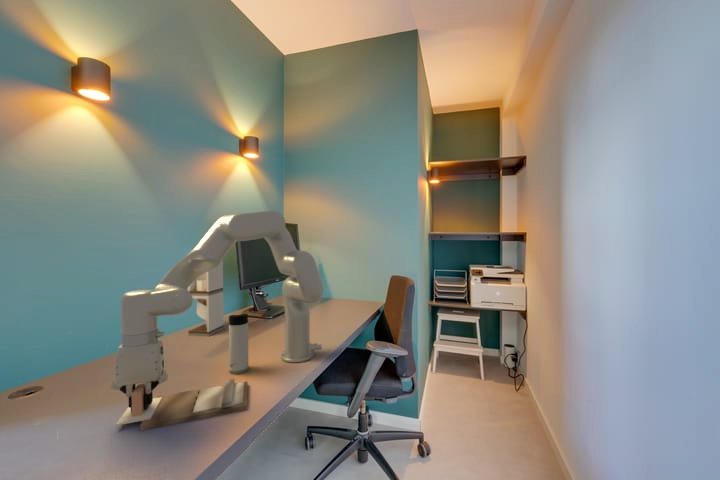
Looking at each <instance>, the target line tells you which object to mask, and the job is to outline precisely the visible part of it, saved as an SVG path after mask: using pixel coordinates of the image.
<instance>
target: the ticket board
mask: <svg viewBox="0 0 720 480" xmlns="http://www.w3.org/2000/svg"><path fill="white" fill-rule="evenodd" d="M248 382H249V381H248V380H246V381H240V382H235V378H230V379H229V378H228V379H226V380H225V383H224V384H223V385H216V386H210V387H205V388H198V389H191V390H186V391H180V392H175V393H169V394H162V395H158V396H157V397H156V398H159V397H162V400H161V401H160V403H159V405H158V407H157V409H156V410H155V412H154V414H153V416H152V417H151V419H149V420H143V421H141V423H140V425H139V431H143V430H142V429H145V430H149V428H151V429H155V427H156V428H159V427H165V426H171V425H175V424H179V423H180V424H181V423H186V422H191V421H195V420H201V419H206V418H212V417H217V416H221V415H226V414H227V415H228V414H231V413H236V412H241V411H247V409H248V407H247V406H248V385H249V383H248ZM216 415H217V416H216ZM185 421H186V422H185Z"/></svg>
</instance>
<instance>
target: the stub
mask: <svg viewBox="0 0 720 480" xmlns="http://www.w3.org/2000/svg"><path fill="white" fill-rule="evenodd" d="M145 391H146V390H145V383H138V385H136V388H135V389H134V391H133V392H132V412H131V407H130V408H129V406H128V407H127V408H126V409H125V411H124V412H123V414H122V415H121V416H120V418H119V419H118V421H117V422H116V423H115V426H120V425H126V424H131V423H137V422H143V420H149V419H151V417H152V416H153V414H154V412H155V410H156V409H157V407H158V405H159V403H160V401H161V400H162V397H159V398H157V397H154V398H153V400H152V403H151V404H150V405H149V407H148V408H147V410H144V409H143V396H144V394H145Z"/></svg>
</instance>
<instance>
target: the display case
mask: <svg viewBox="0 0 720 480" xmlns="http://www.w3.org/2000/svg"><path fill="white" fill-rule="evenodd" d="M187 291H189V292H190V293H191V295H192V298H193V299H195V300H196V315H197V316H198V317H199V318H201V319H202V320H204V321H205V322H204V324H202V325H199V326H197V327H194V328H192V329H191V330H188V336H194V337H195V336H196V337H210V335H211V336H212V335H215V334H217V333H218V332H220V331H222V330H224V260H222V261H221V263H220V264H219V265H218V266H217V267H215V268H214V269H212V270H210V271H208V272H206V273H204V274H202V275H200V276H199V277H198V278H197V279H195V280H194V281H193V282H192V283H191V284H190V286H189V287H188V288H187ZM221 329H222V330H221ZM219 330H220V331H219Z"/></svg>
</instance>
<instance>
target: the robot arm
mask: <svg viewBox="0 0 720 480" xmlns="http://www.w3.org/2000/svg"><path fill="white" fill-rule="evenodd" d="M259 239H264V240H265V241H266V242H267V244H268V245H269V248H270V250H271V253H272V256H273V258H274V261H275V264H276V266H277V268H278V269H277V270H278V271H279V273H281V274H282V275H286V276H288V277H287V278H285V279H284V281H283V283H282V286H281V291H282V292H281V293H282V298H283V304H284V306H283V307H284V351H282V352H281V354H280V360H282V361H284V362H287V363H302V362H307V361H309V360H310V359H312V358H313V357H314V354H315V353H314V352H315V351H319V350H322V349H323V348H322V347H323V346H322V344H318V343H316V342H315V343H311V340H310V339H311V338H310V337H311V336H310V335H311V333H310V332H311V331H310V330H311V328H310V325H311V324H310V322H311V318H310V313H311V312H310V311H311V310H310V306H309V304H315V303H317V302H319V301H320V300H321V298H322V297H323V295H324V294H323V292H324V287H323V286H324V285H323V282H322V281H323V280H322V278H321V274H320V271H319V268H318V266H317V262H316V260H315V258H314V256H313V255H312V254H311V253H310V252H308V251H305V250H298V249H297V247H296V245H295V243H294V240H293V238H292V235H291V233H290V231H289V230H288V229H287V227H286V219H285V217H284V215H283V214H282V213H281V212H280V211H277V210H274V209H273V210H263V211H262V210H260V211H254V212H245V213H234V214H233V213H232V214H225V215H222V216H220V217H219V218H218V219H217V220H216V221H215V222H214V223H213V224H212V225H211V226H210V228H209V229H208V231H206V233H205V234H204V236H203V237H202V238H201V239H200V240H199V242H198V243H196V245H195V247H194V248H193V249H192V250H191V251H189V252H188V253H187V254H186V255H185V256H184V257H183V258H182V259H180V260H179V261H178V262H177V263H176V264H175V265H174V266H172V268H170V270H169V271H168V272H167V273H165V275H164V277H163V278H161V280H160V281H159V283H158V284H157V285H156V286H155V288H154V289H153V290H152V289H138V290H137V289H136V290H131V291H127V292H125V293H124V294H122V296H121V298H120V299H121V300H120V313H121V315H120V316H121V317H120V318H121V319H120V320H121V321H120V326H121V331H120V332H121V344H120V345H119V346H118V348H117V351H116V352H117V353H116V356H115V364H114V376H113V377H114V379H113V381H112V384H110V389H112V390H116V391H120V392H121V393H124V395H125V396H126V398H128V407H129V408H130V407H131V412H132V392H133V391H134V389H135V388H136V387H137V384H139V383H145V390H146V391H145V394H144V396H143V409H144V410H147V408H148V407H149V405H150V404H151V403H152V400H153V391H154V390H155V389H156V388H157V386H159V385H161V384H163V383H165V382H166V381H168V379H169V375H168V373H167V372H166V357H165V351H164V350H165V349H164V344H163V341H162V339H161V337H164V335H165V331H164V330H163V331H161V330H159V327H158V317H164V316H166V317H167V316H177V315H182V314H184V313H186V312H187V311H189V309H190V308H191V306H192V305H193V298H192V295H191V293H190V292H189V291H188V287H189V286H190V284H191V283H192V282H193V281H194V280H195V279H197V278H198V277H199V276H200V275H202V274H204V273H206V272H208V271H210V270H212V269H214V268H215V267H217V266H218V265H219V264H220V263H221V261H224V259H225V257H226V256H227V255H228V253H229V252H230V251H231V249H232V248H233V246H234V245H235V244H236V243H237V242H247V241H252V240H253V241H254V240H259Z"/></svg>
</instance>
